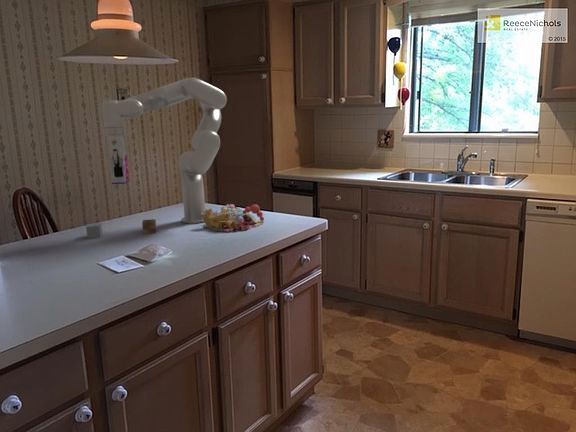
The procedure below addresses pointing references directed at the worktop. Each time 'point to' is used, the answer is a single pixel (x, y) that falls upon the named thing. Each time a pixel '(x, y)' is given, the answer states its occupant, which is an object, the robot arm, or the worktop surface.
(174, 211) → the worktop surface
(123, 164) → the supplement box
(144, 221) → the walnut block
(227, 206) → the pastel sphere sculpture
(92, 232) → the slate block
